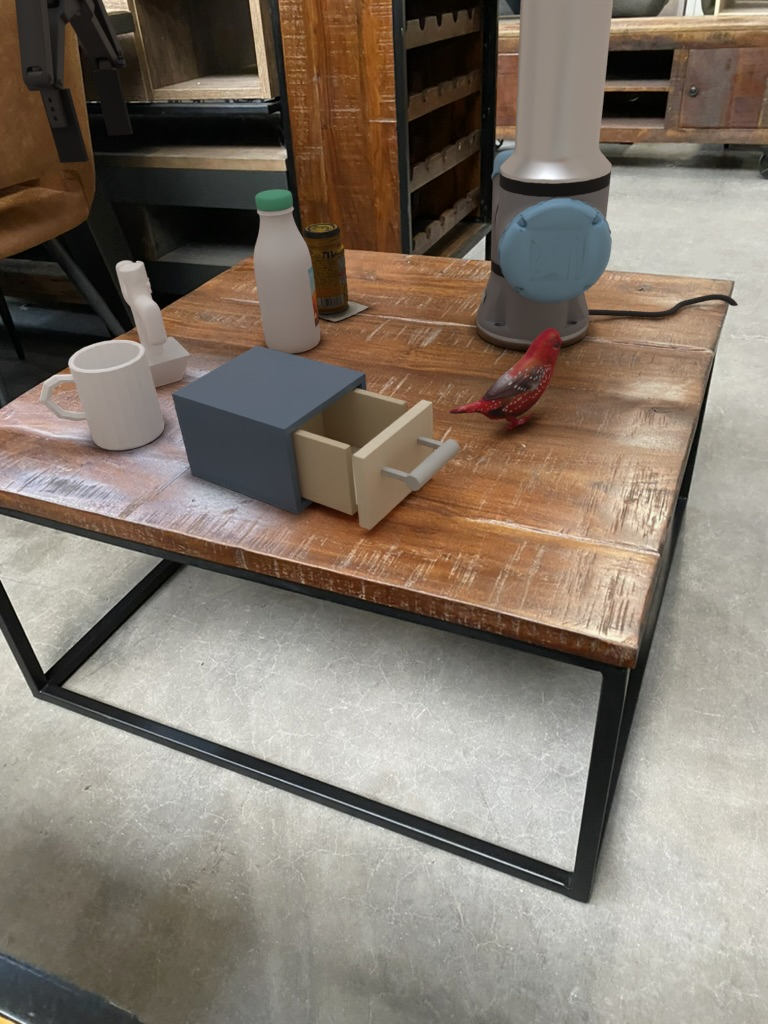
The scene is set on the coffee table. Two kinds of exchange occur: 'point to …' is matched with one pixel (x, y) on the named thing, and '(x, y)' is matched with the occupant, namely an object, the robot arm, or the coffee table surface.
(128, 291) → the figurine
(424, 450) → the drawer
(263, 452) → the cabinet
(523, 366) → the decorative bird figurine
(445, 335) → the coffee table surface
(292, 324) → the milk bottle
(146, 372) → the mug
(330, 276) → the condiment
